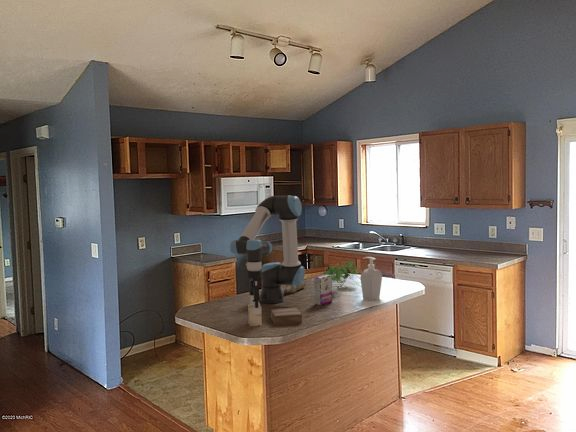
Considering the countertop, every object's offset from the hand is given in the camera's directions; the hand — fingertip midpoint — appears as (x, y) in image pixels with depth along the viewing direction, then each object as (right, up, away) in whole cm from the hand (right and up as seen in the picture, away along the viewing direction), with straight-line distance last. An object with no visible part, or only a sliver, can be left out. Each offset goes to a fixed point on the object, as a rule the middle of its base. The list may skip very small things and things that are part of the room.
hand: (254, 310), depth 262 cm
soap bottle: (+68, -3, +53) cm, 86 cm away
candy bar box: (+38, -4, +42) cm, 57 cm away
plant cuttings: (+56, -1, +78) cm, 96 cm away
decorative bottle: (+20, -1, +75) cm, 78 cm away
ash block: (0, -7, +1) cm, 7 cm away
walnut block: (+16, -7, +7) cm, 19 cm away
